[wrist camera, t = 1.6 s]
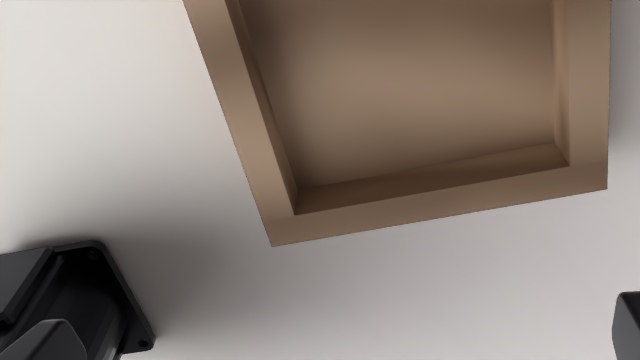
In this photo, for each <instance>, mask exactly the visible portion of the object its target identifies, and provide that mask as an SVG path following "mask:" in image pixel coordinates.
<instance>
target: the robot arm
mask: <svg viewBox="0 0 640 360" xmlns="http://www.w3.org/2000/svg"><path fill="white" fill-rule="evenodd" d="M92 251H95V252H96V253H97V254H95V253H92ZM612 339H613V345H614V349H615V353H616V356H617V360H640V291H633V292H622V293H620V294H619V295H618V297H617V301H616V307H615V313H614V319H613V325H612ZM144 340H145V341H144ZM155 340H156V337H155V335H154V333H153V331H152V329H151V327H150V325H149V324H148V322H147V320H146V318H145V316H144V315H143V313H142V311H141V309H140V307H139V305H138V304H137V302H136V300H135V298H134V296H133V295H132V293H131V291H130V289H129V287H128V286H127V284H126V282H125V280H124V278H123V276H122V275H121V273H120V271H119V269H118V267H117V266H116V264H115V262H114V260H113V258H112V256H111V255H110V253H109V251H108V249H107V247H106V246H105V245H104V244H103V243H101V242H99V241H96V240H91V241H85V242H80V243H74V244H69V245H63V246H58V247H52V248H49V247H43V248H38V249H32V250H27V251H21V252H16V253H10V254H5V255H0V360H120V358H121V356H122V354H128V353H135V352H142V351H148V350H151V349H152V348H153V346H154V343H155Z"/></svg>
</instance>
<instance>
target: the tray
mask: <svg viewBox="0 0 640 360" xmlns="http://www.w3.org/2000/svg"><path fill="white" fill-rule="evenodd" d="M183 3H184V6H185V8H186V11H187V14H188V17H189V19H190V22H191V25H192V28H193V31H194V33H195V36H196V39H197V42H198V44H199V47H200V50H201V53H202V55H203V58H204V61H205V64H206V66H207V69H208V72H209V75H210V78H211V80H212V83H213V86H214V89H215V91H216V94H217V97H218V100H219V102H220V105H221V108H222V111H223V113H224V116H225V119H226V122H227V125H228V127H229V130H230V133H231V136H232V138H233V141H234V144H235V147H236V149H237V152H238V155H239V158H240V160H241V163H242V166H243V169H244V171H245V174H246V177H247V180H248V183H249V185H250V188H251V191H252V194H253V196H254V199H255V202H256V205H257V207H258V210H259V213H260V216H261V218H262V221H263V224H264V227H265V230H266V232H267V235H268V238H269V241H270V243H271V246H272V247H275V246H280V245H286V244H292V243H298V242H304V241H309V240H315V239H321V238H327V237H333V236H339V235H344V234H350V233H356V232H362V231H368V230H373V229H379V228H385V227H391V226H397V225H402V224H408V223H414V222H420V221H426V220H432V219H437V218H443V217H449V216H455V215H461V214H466V213H472V212H478V211H484V210H490V209H496V208H501V207H507V206H513V205H519V204H525V203H530V202H536V201H542V200H548V199H554V198H559V197H565V196H571V195H577V194H583V193H589V192H594V191H600V190H606V189H607V176H608V126H609V76H610V26H611V0H183Z"/></svg>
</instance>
